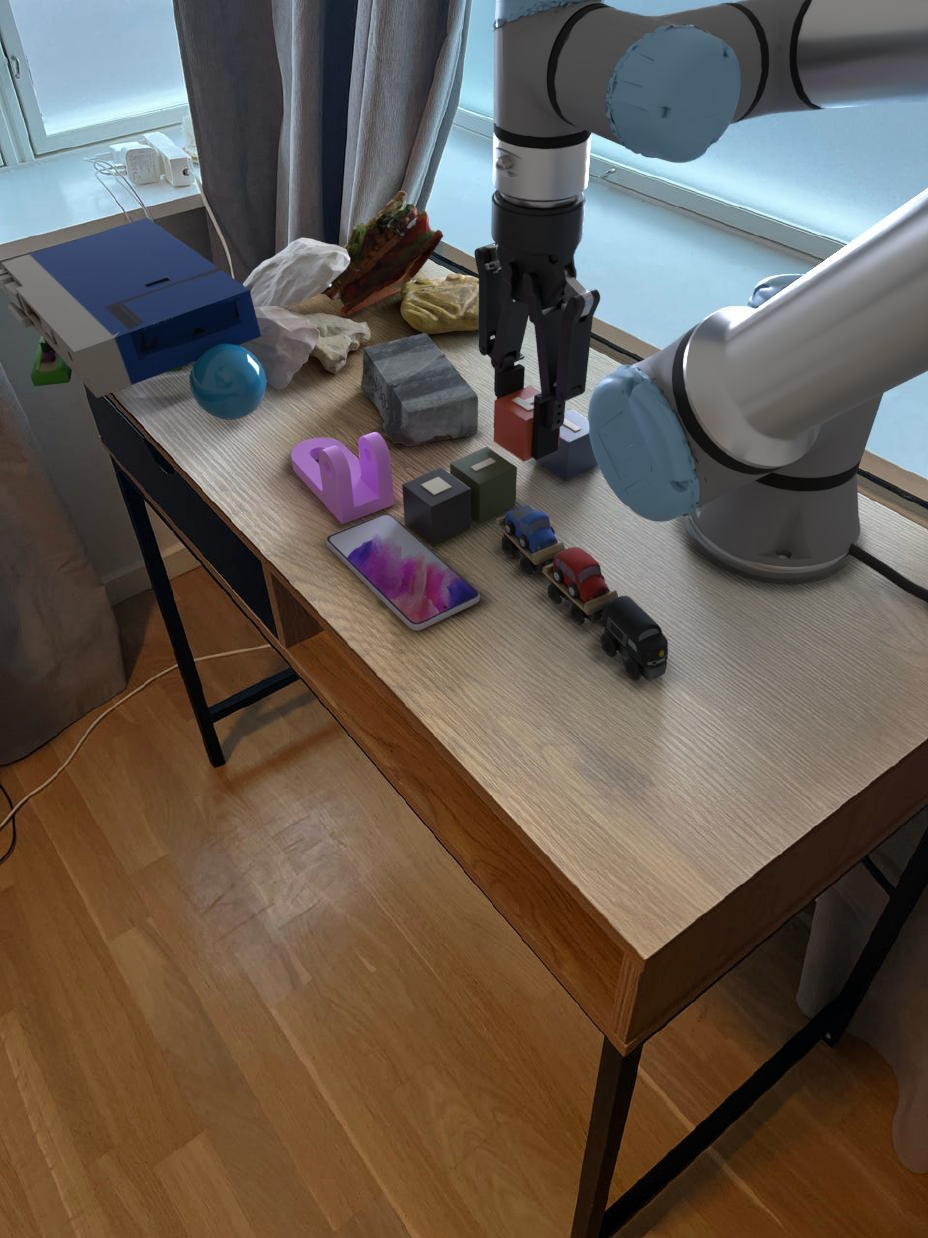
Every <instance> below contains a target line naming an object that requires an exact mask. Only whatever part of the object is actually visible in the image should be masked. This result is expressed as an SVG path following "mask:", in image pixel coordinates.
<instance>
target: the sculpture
mask: <svg viewBox="0 0 928 1238" xmlns="http://www.w3.org/2000/svg"><path fill="white" fill-rule="evenodd" d="M400 298H401V304H400V314H401V317H402V318H403V319H404V320H405V322H407V323H408V324H409V325H410V326H411V327H412V328H413V329H415V330H416V331H418V332H420V333H422V334H423V333H426V334H427V335H435V334H437V335H438V334H444V333H451V332H465V331H466V332H467V331H479V277H475V276H473V275H467V274H466V275H465V274H464V275H463V274H462V273H460V272H459V273H449V274H447V275H446V276H444V277H438V278H436V277H435V278H431V279H430V278H429V277H426V276H425V277H417V278H416V279H414V280H413V279H412V281H410V282H406V283H405V284H404V285H403V287H402V289H401V290H400Z"/></svg>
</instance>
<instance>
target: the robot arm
mask: <svg viewBox="0 0 928 1238" xmlns="http://www.w3.org/2000/svg"><path fill="white" fill-rule="evenodd" d="M604 2H605V0H495V13H494V22H493V24H492V32H493V110H492V111H493V117H492V118H493V119H492V121H493V141H492V142H493V145H492V185H493V187H494V188H495V191H494V192H493V193H492V195H491V210H490V211H491V214H490V215H491V217H490V220H491V221H490V235H491V238H492V240H493V243H489V244H486V245H484V246H481V247H477V248H475V249H474V259H475V264H476V270H477V274H478V279H479V330H478V351H479V353H480V355H482V356H488V357H489V359H490V365H491V367H492V368H493V369H494V374H493V375H494V378H493V379H494V382H493V392H494V396H495V397H496V400H497V399H499V398H501V397H504V396H506V395H509V394H511V393H513V392H516V391H518V390H521V389H523V388H525V372H526V371H525V370H526V367H525V365H523V364H521V363H518V364H515V363H517V362H519V361H522V360H524V359H525V355H524V354H523V353H522V352H521V351H522V347H523V341H524V337H525V334H526V329H527V325H528V320H529V322H530V323H531V324H533V325H534V326H533V327H534V334H535V335H534V336H535V344H536V354H537V365H538V372H539V373H538V374H539V386H540V391H541V393H539V394H537V395H534V411H533V433H532V452H531V457H532V458H531V459H533V460H535V461H536V460H538V459H540V458H542V457H544V456H546V455H548V454H551V453H553V452H555V451H557V450H558V440H559V427H561V426H562V425H563V423H564V415H565V413H564V412H566V402H567V401H569V400H572V399H574V398H576V397H578V396H580V395H583V394H584V393H585V391H586V386H587V377H588V376H587V375H588V367H589V366H588V365H589V359H590V358H589V357H590V347H591V339H592V330H593V329H592V328H593V320H594V315H595V312H596V310H597V308H598V307H599V303H600V301H601V294H600V291H598V289H597V288H592V289H588V290H587V288H585V287H584V286H583V285H582V284H581V282H580V281H578V279H577V277H578V271H577V268H576V264H575V263H576V262H575V253H576V251H577V249H578V247H579V245H580V243H581V242H582V240H583V236H584V228H585V215H586V203H587V198H586V196H585V194H584V191H585V190H586V189H587V188H588V184H589V183H588V182H589V168H590V153H591V140H592V134H593V135H596V136H598V137H601V138H603V139H606V140H608V141H610V142H611V143H615V144H617V145H620V146H622V147H624V148H625V149H626V150H629V151H631V152H632V153H633V154H635V155H641V156H643V157H644V158H650V159H658V160H662V161H666V162H670V163H673V164H685V163H690V162H693V161H696V160H698V159H700V158H701V157H702V156H704V155H705V154H706V153H707V151H708V149H709V148H710V147H711V146H713V145H715V144H717V143H718V142H719V141H720V140H721V139H722V138H723V136H724V135H725V133H726V131H727V130H728V128H729V126H730V125H733V124H737V123H739V122H743V121H747V120H752V119H756V118H760V117H764V116H770V115H776V114H785V113H798V112H799V113H800V112H810V111H820V110H821V111H822V110H827V109H836V108H849V107H851V108H852V107H865V106H866V107H867V106H880V105H893V104H894V105H896V104H908V103H923V102H928V0H735V1H731V2H722V3H719V4H712V5H708V6H702V7H695V8H691V9H686V10H680V11H675V12H669V13H663V14H659V15H658V14H657V15H646V14H640V13H636V12H631V11H627V10H622V9H618V8H616V7H614V6H611V5H608V4H605V3H604ZM493 336H494V337H493ZM491 337H492V338H491ZM926 372H928V187H927V188H926V189H924V190H923V191H922V192H920V193H919V194H917V195H916V196H915V197H913V198H911V200H909V201H908V202H906V203H905V204H903V205H902V206H901V207H898V209H896V210H895V211H893V212H892V213H890V214H889V215H888V216H886V217H885V218H884V219H882V220H880V221H879V222H878V223H876V224H875V225H874V226H872V227H871V228H870V229H868V230H867V231H865V232H863V233H862V234H861V235H859V236H858V237H856V238H855V239H853V240H852V241H851V242H850V243H848V244H846V245H845V246H844V247H842V248H841V249H840V250H838V251H837V252H836V253H834V254H833V255H831V256H830V257H828V258H827V259H825V260H824V261H823V262H821V263H820V264H818V265H817V266H816V267H813V269H811V270H810V271H808V272H807V273H806V274H801V273H788V274H778V275H773V276H769V277H766V278H764V279H762V280H761V281H759V282H758V283H756V285H755V287H754V289H753V292H752V293H751V297H750V298H749V299H748V302H747V306H743V305H738V306H737V305H736V306H727V307H723V308H721V309H718V310H716V311H714V312H713V313H710V314H709V315H707V316H706V317H705V318H703V319H702V320H700V321H699V322H698V323H697V324H696V325H694V326H693V327H691V328H690V329H689V330H687V331H686V332H685V333H683V334H681V335H680V336H679V337H678V338H677V339H675V340H673V342H671V343H670V344H668V345H666V346H665V347H664V348H662V349H661V350H660V351H658V352H656V353H654V354H653V355H650V356H649V357H646V358H644V359H642V360H640V361H638V362H636V363H633V364H632V363H630V364H623V365H620V366H619V367H618V368H617V369H616V370H615V371H613V372H612V373H609V374H608V375H606V376H604V377H603V378H602V379H600V381H599V382H598V383H597V384H596V386H595V387H594V388H593V391H592V393H591V396H590V400H589V404H588V412H587V419H588V421H589V436H590V441H591V446H592V449H593V453H594V456H595V459H596V461H597V464H598V466H597V467H598V468H599V471H600V472H601V474H602V476H603V478H604V480H605V481H606V483H607V484H608V486H609V488H610V489H611V491H612V492H613V493H614V495H615V496H616V497H617V498H618V500H619V501H621V503H622V504H623V505H625V506H626V507H629V509H630V510H631V511H632V512H633V513H634V514H636V515H637V516H639V517H641V518H643V519H646V520H648V521H652V522H658V523H663V522H665V523H666V522H670V521H672V520H674V519H677V518H679V517H685V525H686V526H685V527H686V531H687V535H688V536H689V538H690V540H691V542H692V543H693V545H694V546H695V547H696V548H697V549H698V551H700V553H702V554H703V556H705V557H706V558H707V559H709V560H710V561H711V562H713V563H715V564H716V565H718V566H720V567H721V568H723V569H725V570H727V571H728V572H729V571H730V572H732V573H734V574H736V575H739V576H742V577H744V578H748V579H751V580H756V581H760V582H767V583H773V584H803V583H810V582H814V581H819V580H822V579H825V578H827V577H829V576H830V577H831V576H832V575H834V574H836V573H838V572H839V571H841V570H842V569H844V568H845V566H846V565H848V563H849V562H850V561H851V559H852V558H854V559H855V560H858V561H859V562H860V563H862V564H864V565H865V566H867V567H869V568H870V569H872V570H873V571H874V572H876V573H878V574H879V575H881V576H882V577H884V578H885V579H887V580H888V581H889V582H891V583H892V584H894V585H895V586H897V587H898V588H900V589H901V590H903V591H904V592H906V593H908V594H910V595H911V596H913V597H916V598H917V599H920V600H922V601H923V602H926V603H928V589H927V588H925V587H923V586H921V585H919V584H917V583H915V582H913V581H911V580H910V579H909V578H907V577H905V576H904V575H902V574H901V573H900V572H898V571H897V570H895V569H894V568H892V567H891V566H889V565H888V564H886V563H885V562H883V561H882V560H880V559H879V558H877V557H876V556H874V555H873V554H871V553H869V552H868V551H866V550H864V549H863V548H862V547H860V546H857V544H858V542H859V541H858V540H859V538H860V535H861V534H860V533H861V523H860V516H859V494H858V493H859V492H858V478H857V474H858V472H859V468H860V465H861V461H862V458H863V456H864V453H865V450H866V447H867V444H868V440H869V438H870V435H871V433H872V429H873V426H874V423H875V420H876V417H877V414H878V411H879V408H880V405H881V402H882V399H883V397H884V393H887V392H888V391H890V390H892V389H895V388H896V387H899V386H901V385H902V384H905V383H906V382H908V381H910V380H913V379H914V378H916V377H918V376H921V375H923V374H924V373H926Z"/></svg>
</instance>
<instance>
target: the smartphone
mask: <svg viewBox="0 0 928 1238" xmlns="http://www.w3.org/2000/svg"><path fill="white" fill-rule="evenodd" d="M325 545H326V547H327V548H328V549H329V550H330V551H331V552H332V553H333V554H334V555H335V556H336V557H337V558H338V559H339V560H340V561H341V562H342V563H343V564H344V565H345V566H346V567H347V568H348V569H349V570H350V571H351V572H353V574H355V576H356V577H357V578H358V579H359V580H360V581H361V582H362V583H363V584H364V585H365V586H366V587H368V588H369V590H370V591H371V592H372V593H373V594H374V595H375V596H376V597H377V598H379V599H380V601H382V602H383V603H384V605H386V607H387V608H389V610H390V611H392V613H394V614H395V615H396V616H397V617H398V619H400V620H401V621H402V623H404V624H405V625H406V626H407V627H408V628H409V629H410V630H412V631H417V632H419V631H422V630H424V629H426V628H428V627H430V626H432V625H435V624H436V623H438V622H440V621H443V620H445V619H447V618H449V617H451V616H453V615H455V614H458V613H459V612H461V611H464V610H465V609H468V608H470V607H472V606H475V605H476V604H478V603H479V601H480V600H481V594H480V591H478V590H477V589H476V588H475V587H474V586H473V585H472V584H471V583H469V581H467V580H466V579H465V578H464V577H463V576H461V575H460V574H459V572H457V571H456V570H455V569H454V568H453V567H451V565H449V563H447V562H446V561H445V560H444V559H443V558H442V557H440V556H439V555H438V554H436V552H435V551H433V550H432V549H431V548H430V547H429V546H428V545H427V544H426V543H424V542H423V541H422V540H421V539H420V538H418V536H416V535H415V533H413V532H412V531H411V530H410V529H408V527H406V526H405V524H404V523H403V524H402V522H401V521H399V520H398V519H397V518H396V517H395V516H394V515H392V514H391V513H388V512H384V513H381V514H378V515H375V516H372V517H371V518H368V519H366V520H363V521H361V522H358V523H356V524H354V525H351V526H348V527H346V528H344V529H341V530H338V531H336V532H333V533H331V534H329V535H328V536H327V537H326V538H325Z"/></svg>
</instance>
